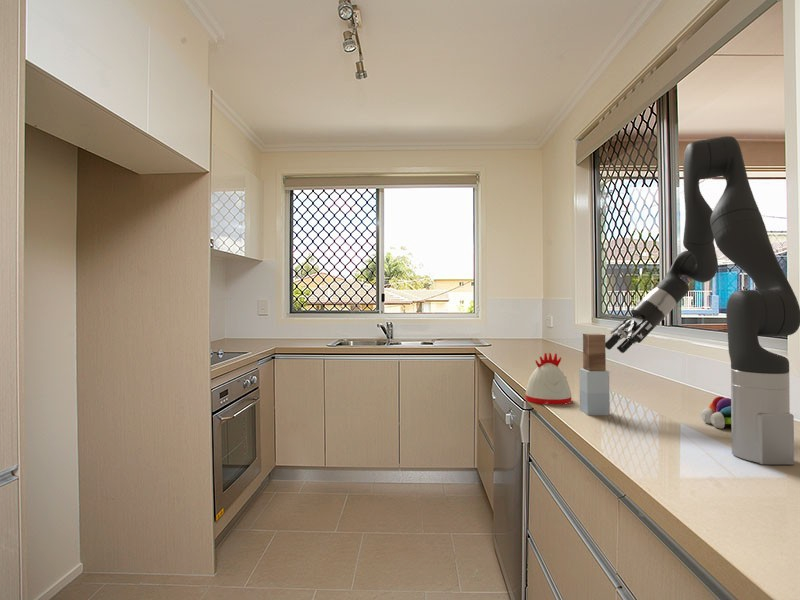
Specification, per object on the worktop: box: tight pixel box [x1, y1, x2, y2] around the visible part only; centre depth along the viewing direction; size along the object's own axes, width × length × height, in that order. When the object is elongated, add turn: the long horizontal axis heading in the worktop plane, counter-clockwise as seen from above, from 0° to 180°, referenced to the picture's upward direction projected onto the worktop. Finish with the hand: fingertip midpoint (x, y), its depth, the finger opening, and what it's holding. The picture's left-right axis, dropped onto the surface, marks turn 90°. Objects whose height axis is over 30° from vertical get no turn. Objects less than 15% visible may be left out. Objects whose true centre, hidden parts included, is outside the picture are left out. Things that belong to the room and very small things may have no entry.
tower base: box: [579, 389, 611, 416], centre depth 131 cm, size 6×6×6 cm
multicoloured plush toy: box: [700, 396, 731, 430], centre depth 117 cm, size 8×10×7 cm
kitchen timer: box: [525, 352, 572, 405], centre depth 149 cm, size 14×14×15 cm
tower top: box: [578, 367, 610, 393], centre depth 132 cm, size 6×6×6 cm
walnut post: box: [582, 333, 607, 371], centre depth 132 cm, size 4×4×10 cm
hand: (612, 349), depth 131 cm, fingers open, 8 cm apart
